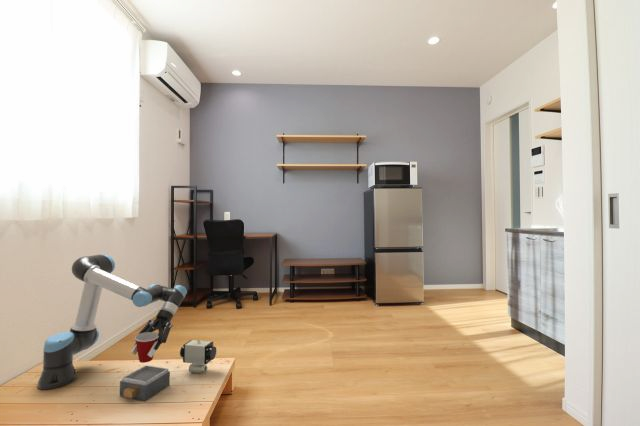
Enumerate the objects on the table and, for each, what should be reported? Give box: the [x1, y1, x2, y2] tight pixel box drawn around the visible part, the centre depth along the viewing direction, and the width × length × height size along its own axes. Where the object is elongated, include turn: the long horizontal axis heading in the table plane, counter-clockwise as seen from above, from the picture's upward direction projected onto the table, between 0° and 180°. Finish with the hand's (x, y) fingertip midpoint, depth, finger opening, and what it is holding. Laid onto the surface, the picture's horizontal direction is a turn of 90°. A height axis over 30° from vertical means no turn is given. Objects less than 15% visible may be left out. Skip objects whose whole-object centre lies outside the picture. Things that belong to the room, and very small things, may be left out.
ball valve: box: [179, 339, 217, 375], centre depth 171 cm, size 18×8×18 cm, turn 80°
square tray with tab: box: [119, 365, 171, 403], centre depth 150 cm, size 15×17×8 cm
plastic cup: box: [133, 331, 159, 364], centre depth 152 cm, size 11×11×12 cm
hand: (141, 354), depth 149 cm, fingers closed on plastic cup, 9 cm apart
